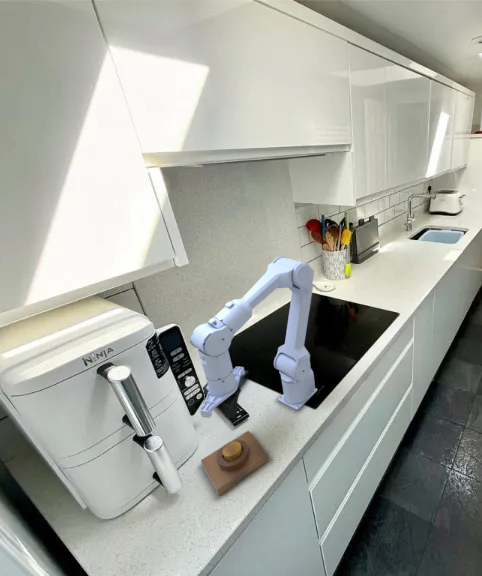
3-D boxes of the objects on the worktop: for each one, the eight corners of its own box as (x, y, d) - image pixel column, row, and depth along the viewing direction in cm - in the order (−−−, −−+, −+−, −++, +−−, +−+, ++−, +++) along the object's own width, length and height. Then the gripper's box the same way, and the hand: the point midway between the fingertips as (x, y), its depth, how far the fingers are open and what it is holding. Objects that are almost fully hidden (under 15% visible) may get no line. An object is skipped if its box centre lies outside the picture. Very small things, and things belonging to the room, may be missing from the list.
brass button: (237, 443, 76) (236, 438, 76) (244, 453, 74) (243, 448, 73) (221, 453, 74) (219, 448, 73) (228, 464, 71) (226, 459, 71)
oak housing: (249, 436, 82) (247, 425, 81) (268, 460, 76) (266, 449, 74) (202, 466, 75) (198, 455, 73) (219, 496, 68) (215, 485, 67)
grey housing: (222, 372, 105) (220, 363, 104) (249, 375, 104) (247, 366, 102) (199, 398, 95) (196, 388, 93) (229, 402, 93) (226, 392, 91)
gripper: (222, 351, 77) (232, 392, 83) (181, 393, 64) (197, 438, 70) (248, 353, 76) (257, 395, 82) (211, 397, 63) (225, 442, 69)
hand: (231, 415), depth 76 cm, fingers closed
